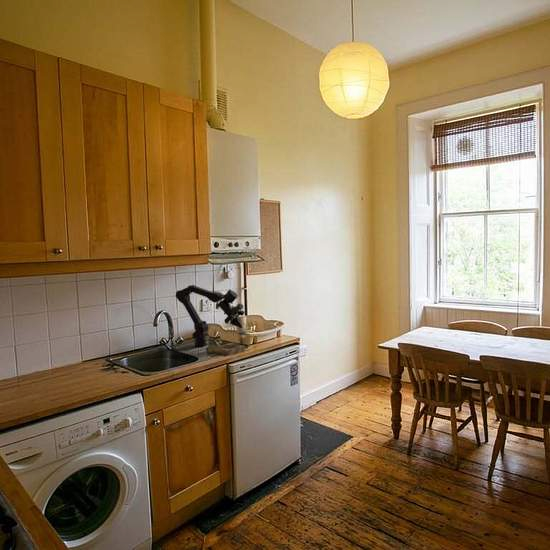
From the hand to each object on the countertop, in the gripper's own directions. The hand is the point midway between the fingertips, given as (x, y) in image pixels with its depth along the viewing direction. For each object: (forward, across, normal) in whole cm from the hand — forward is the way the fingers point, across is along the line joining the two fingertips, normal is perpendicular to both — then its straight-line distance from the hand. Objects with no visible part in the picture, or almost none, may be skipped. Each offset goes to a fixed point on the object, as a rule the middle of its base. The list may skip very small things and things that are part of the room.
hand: (244, 326), depth 245 cm
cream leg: (+4, 0, +6) cm, 7 cm away
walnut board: (+6, -9, +14) cm, 17 cm away
